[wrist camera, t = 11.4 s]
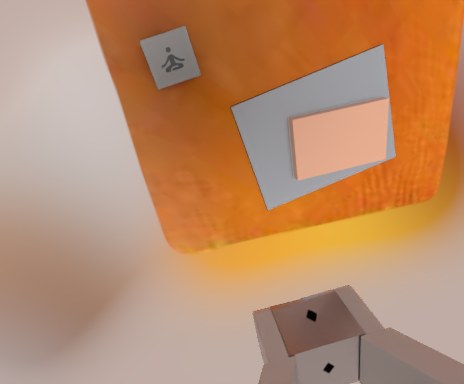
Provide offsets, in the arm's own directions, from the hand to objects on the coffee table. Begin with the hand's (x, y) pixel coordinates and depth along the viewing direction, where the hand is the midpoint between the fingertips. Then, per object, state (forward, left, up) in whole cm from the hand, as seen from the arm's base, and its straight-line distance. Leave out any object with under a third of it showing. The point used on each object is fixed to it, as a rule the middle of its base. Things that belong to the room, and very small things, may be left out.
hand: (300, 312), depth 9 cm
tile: (+9, +10, -33) cm, 36 cm away
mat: (+9, +15, -34) cm, 38 cm away
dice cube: (-8, -1, -34) cm, 35 cm away
